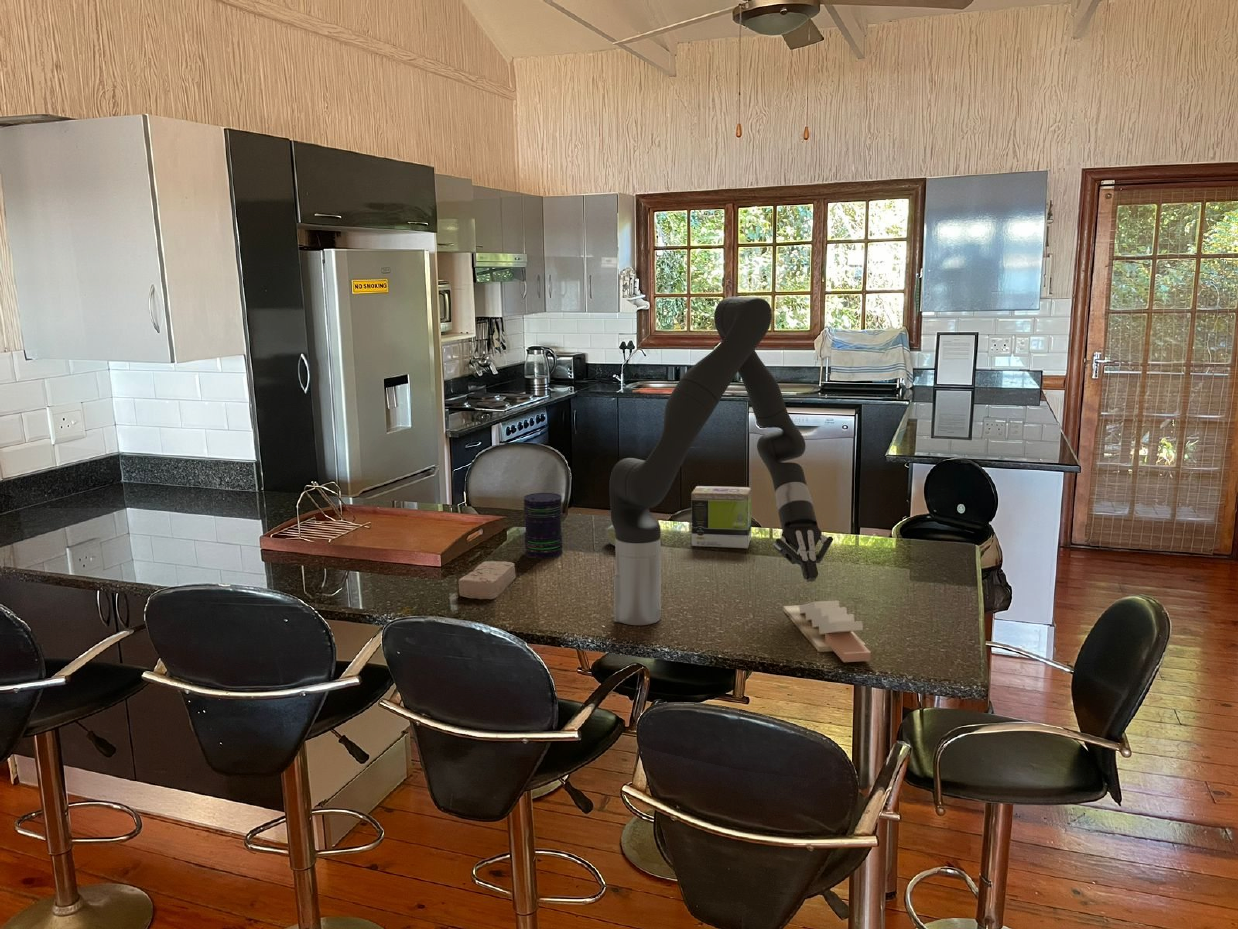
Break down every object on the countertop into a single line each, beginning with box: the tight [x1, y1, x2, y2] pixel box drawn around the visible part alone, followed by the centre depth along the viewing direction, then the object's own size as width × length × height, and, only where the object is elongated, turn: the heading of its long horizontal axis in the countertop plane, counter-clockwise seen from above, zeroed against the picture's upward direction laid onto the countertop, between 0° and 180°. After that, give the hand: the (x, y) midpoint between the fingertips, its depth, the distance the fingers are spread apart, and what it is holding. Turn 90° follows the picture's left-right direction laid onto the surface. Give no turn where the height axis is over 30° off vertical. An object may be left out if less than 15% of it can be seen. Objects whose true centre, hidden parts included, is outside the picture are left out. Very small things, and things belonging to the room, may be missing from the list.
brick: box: [457, 560, 517, 600], centre depth 213 cm, size 17×8×5 cm, turn 168°
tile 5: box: [825, 632, 872, 663], centre depth 172 cm, size 2×5×10 cm
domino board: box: [782, 604, 867, 653], centre depth 186 cm, size 23×9×1 cm, turn 7°
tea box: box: [690, 485, 752, 549], centre depth 248 cm, size 15×10×15 cm, turn 77°
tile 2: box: [805, 606, 848, 621], centre depth 184 cm, size 2×5×10 cm
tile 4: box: [819, 620, 864, 634], centre depth 176 cm, size 2×5×10 cm
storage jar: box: [523, 492, 564, 560], centre depth 240 cm, size 10×10×15 cm
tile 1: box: [799, 600, 840, 614], centre depth 187 cm, size 2×5×10 cm
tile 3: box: [812, 613, 855, 627], centre depth 180 cm, size 2×5×10 cm
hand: (811, 580), depth 191 cm, fingers closed
